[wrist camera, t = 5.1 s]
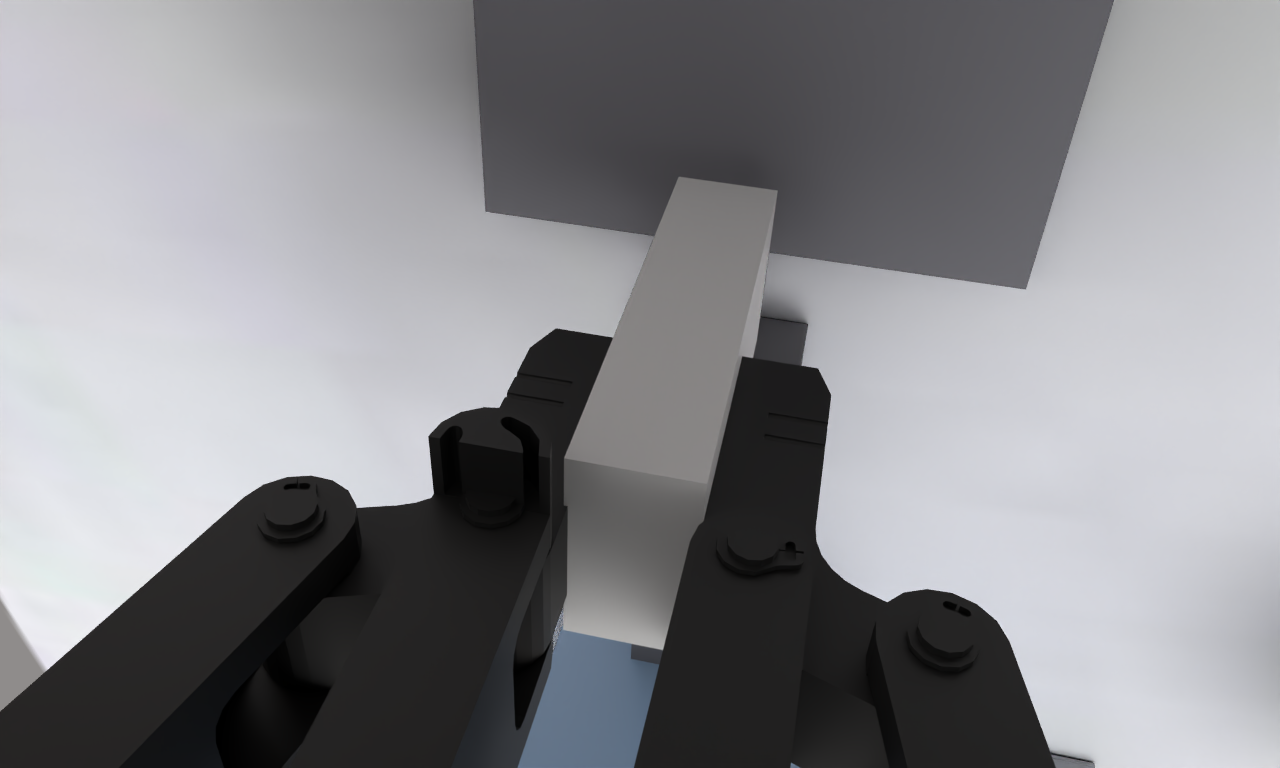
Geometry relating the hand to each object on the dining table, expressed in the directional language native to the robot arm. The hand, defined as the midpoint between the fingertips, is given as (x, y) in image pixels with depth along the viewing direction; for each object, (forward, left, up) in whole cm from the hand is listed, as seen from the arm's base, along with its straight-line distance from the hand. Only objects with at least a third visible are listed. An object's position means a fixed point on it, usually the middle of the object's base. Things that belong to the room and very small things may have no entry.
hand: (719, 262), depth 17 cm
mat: (-4, 0, -1) cm, 4 cm away
